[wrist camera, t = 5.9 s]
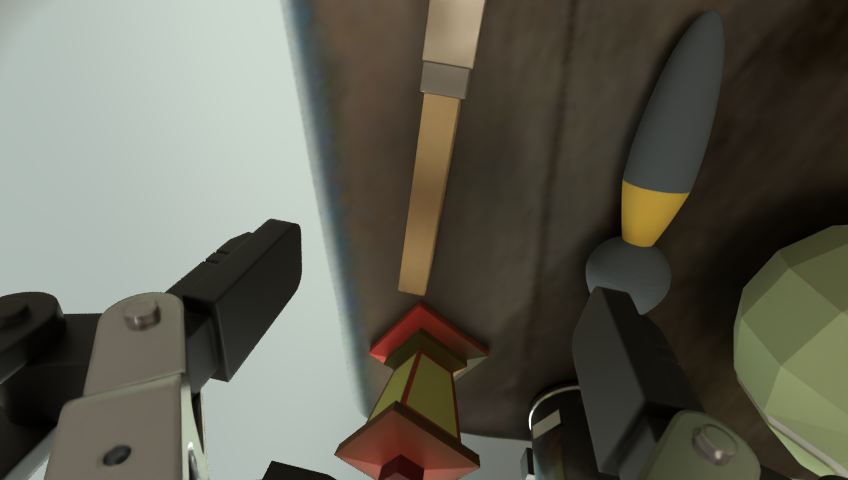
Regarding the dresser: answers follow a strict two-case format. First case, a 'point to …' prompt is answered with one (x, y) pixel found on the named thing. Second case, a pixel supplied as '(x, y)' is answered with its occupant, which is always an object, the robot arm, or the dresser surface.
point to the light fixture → (417, 403)
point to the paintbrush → (663, 165)
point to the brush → (438, 127)
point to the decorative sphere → (800, 348)
